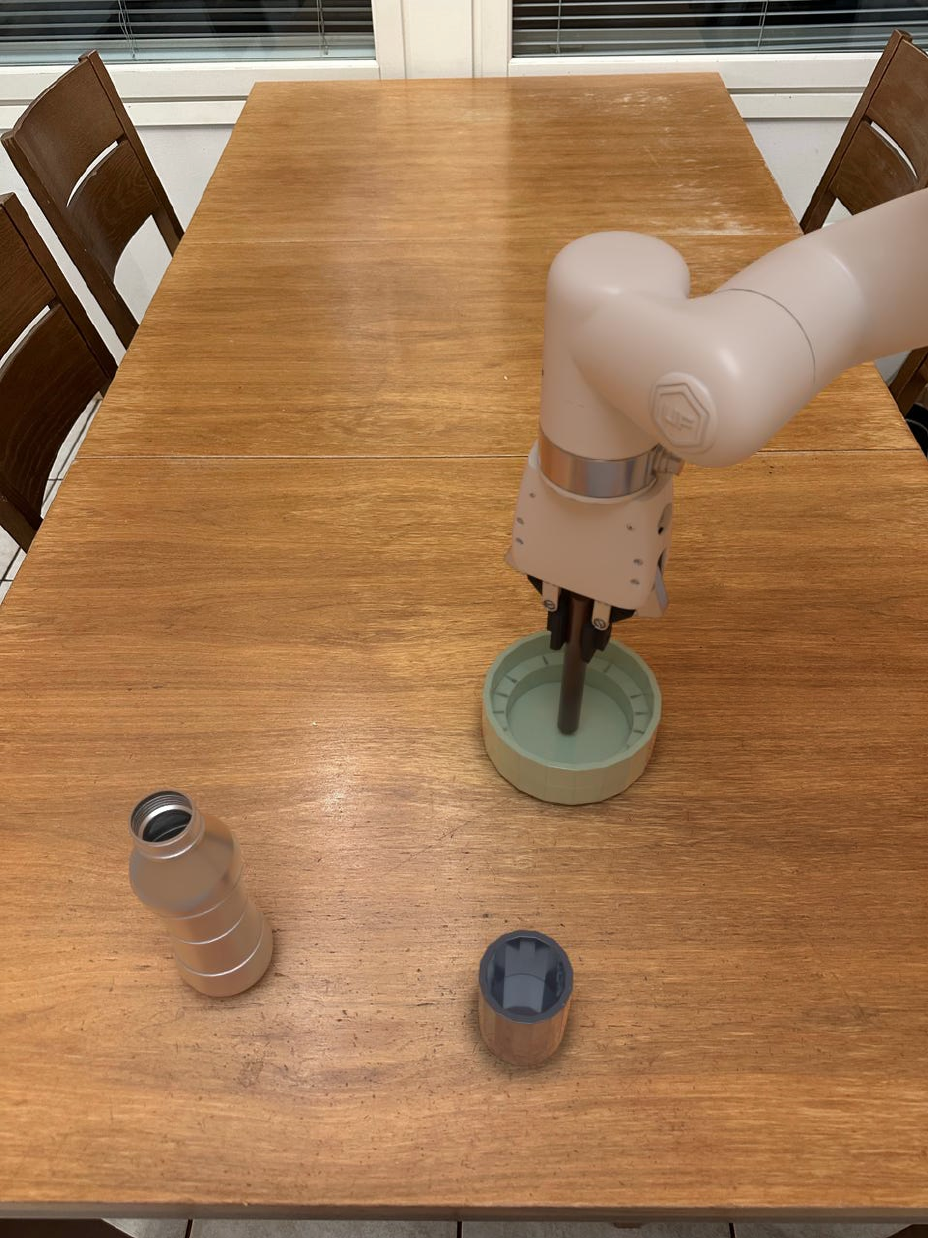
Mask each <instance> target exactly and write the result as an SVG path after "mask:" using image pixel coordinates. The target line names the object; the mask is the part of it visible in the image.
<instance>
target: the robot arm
mask: <svg viewBox="0 0 928 1238" xmlns="http://www.w3.org/2000/svg"><path fill="white" fill-rule="evenodd" d="M691 281H692V280H691V273H690V269H689V266H688V264H687V262H686V260H685V259H684V257H683V256H682V254H681V253H680V251H678V250H677V249H676V248H674V247H673V246H672V245H671V244H669V243H667V242H666V241H665V240H662V239H660V238H658V237H656V236H653V235H650V234H646V233H642V232H637V231H627V230H606V231H598V232H593V233H589V234H585V235H582V236H581V237H578V238H576V239H574V240H572V241H570V242H569V243H568V244H566V245H565V246H564V247H562V248H561V249H560V251H558V253H557V254H556V256H555V257H554V259H553V260H552V262H551V264H550V266H549V271H548V273H547V280H546V289H545V304H544V305H545V306H544V321H543V323H544V324H543V326H544V327H543V341H542V342H543V343H542V362H541V378H540V379H541V380H540V396H539V397H540V399H539V416H538V419H539V420H538V432H537V434H538V435H537V439H536V440H535V441H534V444H533V445H532V446H531V449H530V450H529V453H528V456H527V459H526V462H525V464H524V468H523V473H522V476H521V480H520V485H519V488H518V492H517V497H516V501H515V506H514V511H513V512H514V514H513V519H512V529H511V541H510V542H511V543H510V546H509V548H508V549H507V551H506V552H505V554H504V556H503V560H504V562H505V563H506V564H507V565H508V566H510V567H512V568H513V569H514V570H516V571H517V572H519V573H520V574H522V575H523V576H525V575H526V578H527V580H528V582H529V583H530V584H531V585H532V587H533V588H534V589H535V590H536V591H537V593H539V595H540V596H541V605H542V607H543V608H544V609H545V610H547V619H546V630H548V631H550V632H551V640H550V649H552V650H555V651H557V650H560V649H561V648H562V646H563V645H564V643H565V640H566V630H567V620H568V610H569V600H570V591H573V592H576V593H578V594H581V595H584V596H587V597H589V598H592V599H595V601H594V608H593V612H592V614H591V616H590V617H589V618H588V620H587V622H586V623H585V625H584V628H583V636H582V644H581V653H580V659H582V661H583V662H585V663H588V664H589V662H590V661H591V659H592V657H593V656H594V654H595V652H596V650H600V651H604V650H605V648H606V646H607V644H608V642H609V640H610V637H611V636H612V629H613V624H615V623H618V622H621V621H625V620H628V619H630V618H633V616H637V617H638V618H647V619H662V618H663V617H664V615H665V613H666V611H667V609H668V607H669V606H670V600H669V596H668V593H667V590H666V585H665V582H664V579H663V576H664V574H665V572H666V569H667V567H668V562H669V559H670V554H671V546H672V537H673V528H674V527H673V526H674V512H675V511H674V510H675V487H674V486H675V485H674V476H676V477H679V476H680V475H681V473H682V472H683V469H684V466H685V463H686V462H687V463H690V464H693V465H694V466H698V467H702V468H707V469H726V468H730V467H731V468H732V467H733V466H736V465H739V464H741V463H744V462H745V461H747V460H748V459H750V458H751V457H753V456H754V455H755V454H757V453H758V452H760V451H761V450H763V449H762V448H764V447H765V446H766V445H767V444H768V443H770V441H771V440H772V439H773V438H775V437H776V436H777V434H779V433H780V432H781V431H782V430H783V429H784V428H785V427H786V426H787V425H788V424H789V423H790V422H791V421H792V420H793V419H794V418H795V417H796V416H797V415H798V414H799V413H800V412H802V410H803V409H804V408H806V407H807V406H808V405H809V404H810V403H811V402H812V401H813V400H814V399H815V398H816V397H817V396H818V395H819V394H821V392H822V391H823V390H824V389H825V388H826V387H828V385H830V384H831V383H832V382H834V381H835V380H836V379H837V378H838V377H839V376H840V375H841V374H842V373H843V372H845V371H847V370H850V369H852V368H854V367H857V366H860V365H863V364H865V363H869V362H873V361H877V360H879V359H883V358H887V357H890V356H894V355H897V354H900V353H905V352H909V351H913V350H917V349H921V348H924V347H925V348H926V347H928V187H926V188H923V189H920V190H916V191H914V192H910V193H908V194H905V195H902V196H899V197H897V198H894V199H891V200H889V201H886V202H884V203H880V204H879V205H875V206H874V207H871V208H869V209H866V210H863V211H861V212H858V213H856V214H853V215H851V216H848V217H846V218H843V219H840V220H838V221H835V222H834V223H831V224H828V225H826V226H824V227H821V228H818V229H815V230H813V231H811V232H809V233H806V234H804V235H802V236H799V237H797V238H795V239H793V240H790V241H788V242H786V243H784V244H782V245H780V246H777V247H776V248H774V249H772V250H770V251H769V252H766V253H765V254H764V255H762V256H760V257H759V258H758V259H756V260H754V261H753V262H752V263H750V264H748V265H747V266H746V267H744V268H743V269H742V270H740V271H739V272H737V273H736V274H734V275H733V276H731V278H729V279H728V280H726V281H725V282H724V283H722V284H721V285H720V286H719V287H717V288H716V289H714V290H713V291H712V292H711V293H709V294H707V295H701V296H697V297H693V298H692V297H691V298H690V295H691V287H692V286H691V285H692V284H691V283H692V282H691Z"/></svg>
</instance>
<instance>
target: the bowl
mask: <svg viewBox="0 0 928 1238" xmlns="http://www.w3.org/2000/svg"><path fill="white" fill-rule="evenodd" d="M550 640H551V632H550V631H548V630H547V629H542V630H539V631H536V632H533V633H531V634H529V635H526V636H525V635H524V636H523V637H520V638H518V639H516V641H514V642H513V643H511V644H510V645H509V646H507V647H506V648H504V649H503V650H502V651H500V652H499V653H498V655H497V656H496V658H495V659H494V661H493V662H492V664H491V665H490V666H489V668H488V670H487V671H486V673H485V678H484V683H483V687H482V692H481V711H482V712H481V717H482V718H481V723H482V724H481V730H482V731H481V732H482V737H483V742H484V747H485V748H484V749H485V751H486V754H487V755H488V757H489V759H490V761H491V762H492V764H493V765H494V767H495V769H496V771H497V772H498V773H499V774H500V775H501V776H502V777H503V778H505V779H506V780H507V782H509V783H510V784H511V785H512V786H513V787H515V788H516V789H517V790H519V791H522V792H524V793H525V794H527V795H530V796H532V797H534V798H536V799H539V800H540V801H544V802H550V803H554V804H555V803H556V804H562V805H570V806H572V805H573V806H575V805H583V804H591V803H599V802H602V801H604V800H605V801H606V800H607V799H610V798H611V797H614V796H615V795H618V794H621V793H623V792H625V791H626V790H627V789H628V788H629V787H630V786H631V785H633V783H634V782H635V781H637V780H638V779H639V778H640V777H641V776H642V775H643V773H644V772H645V769H646V767H647V765H648V763H649V761H650V759H651V757H652V755H653V752H654V747H655V743H656V739H657V736H658V731H659V727H660V721H661V716H662V701H663V699H662V698H663V696H662V693H661V689H660V686H659V684H658V681H657V679H656V675H655V673H654V672H653V670H652V669H651V668H650V666H649V665H648V664H647V663H646V661H645V660H644V659H643V657H641V656H640V654H639V653H637V652H636V651H634V650H633V649H632V648H630V647H628V646H627V645H626V644H625V643H623V642H621V640H619V639H616V638H614V637H611V636H610V640H609V642H608V644H607V646H606V648H605V650H604V651H600V650H596V652H595V654H594V656H593V657H592V659H591V661H590V662H589V664H588V663H587V666H586V673H585V681H584V689H583V696H582V704H581V712H580V720H579V727H578V729H577V730H576V731H575V732H573V733H564V732H562V731H561V730H560V729H559V728H558V726H557V720H558V710H559V700H560V690H561V680H562V670H563V660H564V650H565V643H564V645H563V646H562V648H561V649H560V650H557V651H555V650H552V649H550Z"/></svg>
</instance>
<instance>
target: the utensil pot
mask: <svg viewBox="0 0 928 1238" xmlns="http://www.w3.org/2000/svg"><path fill="white" fill-rule="evenodd" d="M477 982H478V983H477V984H478V985H477V988H478V990H477V991H478V993H477V994H478V997H477V998H478V1002H477V1003H478V1004H477V1005H478V1008H477V1009H478V1024H479V1025H478V1026H479V1031H480V1035H481V1038H482V1040H483V1042H484V1043H485V1046H486V1047H487V1048H488V1049H489V1051H490V1052H491V1053H492V1055H494V1056H496V1057H497V1058H498V1059H500V1060H501V1061H503V1062H505V1063H507V1064H511V1065H513V1066H521V1067H526V1066H533V1065H537V1064H539V1063H542V1062H544V1061H546V1060H547V1059H548V1058H550V1057H551V1056H552V1055H553V1054H554V1053H555V1052H556V1050H557V1049H558V1048H559V1046H560V1045H561V1043H562V1040H563V1038H564V1033H565V1028H566V1026H567V1022H568V1016H569V1012H570V1007H571V1002H572V995H573V991H574V969H573V966H572V964H571V961H570V957H569V955H568V953H567V952H566V951H565V949H564V948H563V947H562V946H561V945H560V944H559V943H558V941H556V940H555V939H554V938H552V937H550V936H548V935H546V934H544V933H542V932H540V931H538V930H530V929H515V930H514V931H510V932H507V933H504V934H501V935H500V936H499V937H498V938H496V939H495V940H494V941H492V942H491V943H490V944H488V946H487V948H486V950H485V951H484V954H483V955H482V957H481V958H480V961H479V967H478V979H477Z"/></svg>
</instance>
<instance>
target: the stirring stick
mask: <svg viewBox="0 0 928 1238" xmlns="http://www.w3.org/2000/svg"><path fill="white" fill-rule="evenodd" d="M594 601H595V599H592V598H589V597H587V596H584V595H581V594H578V593H576V592H573V591H570V600H569V610H568V620H567V630H566V640H565V650H564V660H563V670H562V680H561V690H560V700H559V710H558V720H557V726H558V728H559V729H560V730H561V731H562V732H564V733H573V732H575V731H576V730H577V729H578V727H579V720H580V712H581V704H582V696H583V689H584V681H585V673H586V666H587V663H585V662H583V661H582V659H580V653H581V644H582V636H583V628H584V625H585V623H586V622H587V620H588V618H589V617H590V616H591V614H592V612H593V608H594Z"/></svg>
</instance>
